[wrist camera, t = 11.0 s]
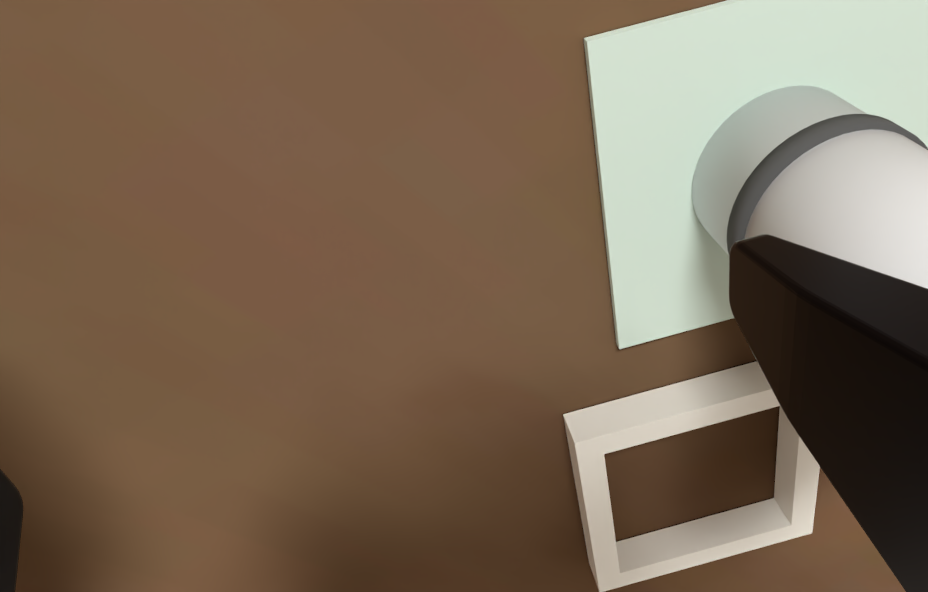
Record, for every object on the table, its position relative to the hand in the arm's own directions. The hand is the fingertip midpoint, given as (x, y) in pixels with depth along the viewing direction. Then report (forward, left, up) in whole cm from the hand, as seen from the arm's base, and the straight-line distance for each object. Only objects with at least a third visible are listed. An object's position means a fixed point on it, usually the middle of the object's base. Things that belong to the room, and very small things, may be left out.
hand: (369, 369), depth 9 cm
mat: (+12, -7, -13) cm, 19 cm away
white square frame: (+9, -20, -13) cm, 25 cm away
